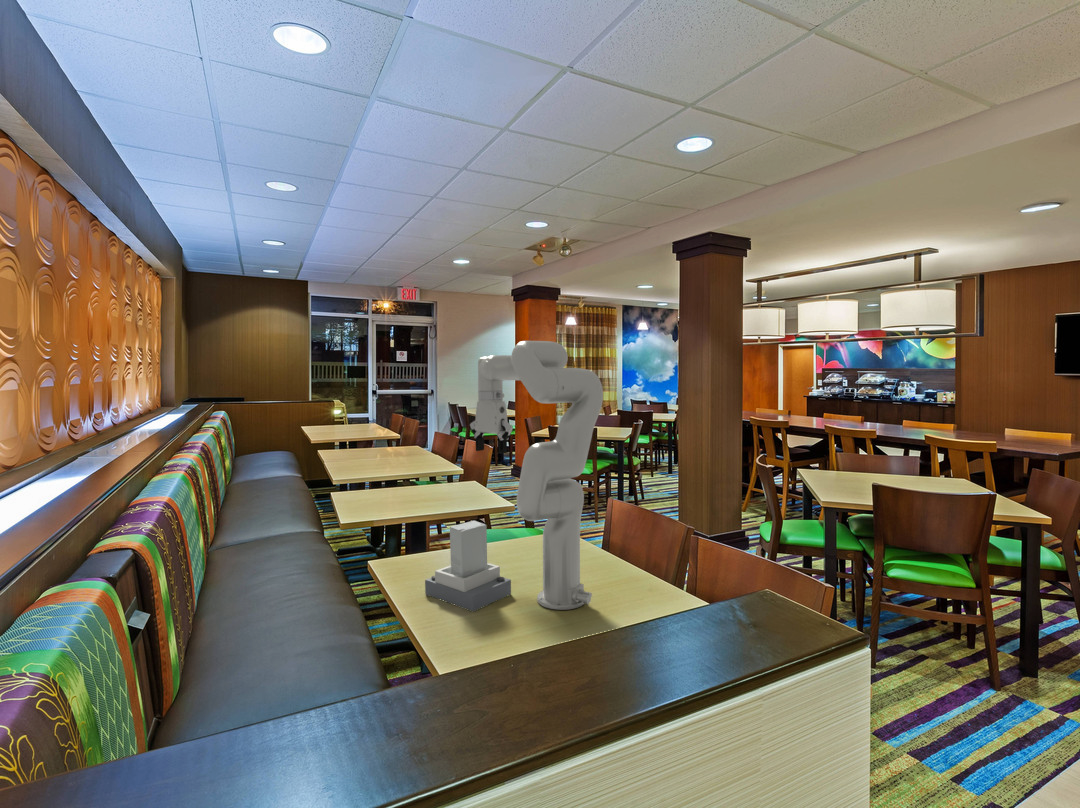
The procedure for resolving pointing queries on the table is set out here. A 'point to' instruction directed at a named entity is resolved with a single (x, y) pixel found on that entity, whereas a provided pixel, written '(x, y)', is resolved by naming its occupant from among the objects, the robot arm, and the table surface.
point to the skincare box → (468, 548)
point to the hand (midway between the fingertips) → (491, 451)
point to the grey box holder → (468, 587)
